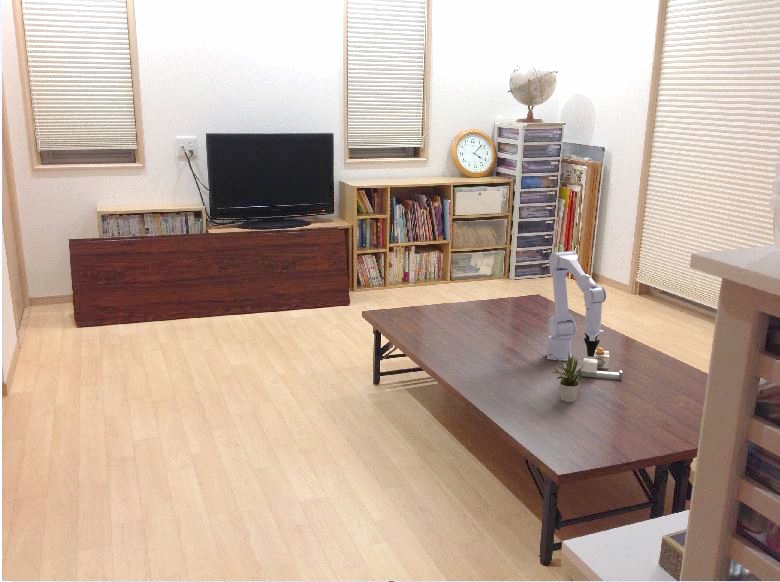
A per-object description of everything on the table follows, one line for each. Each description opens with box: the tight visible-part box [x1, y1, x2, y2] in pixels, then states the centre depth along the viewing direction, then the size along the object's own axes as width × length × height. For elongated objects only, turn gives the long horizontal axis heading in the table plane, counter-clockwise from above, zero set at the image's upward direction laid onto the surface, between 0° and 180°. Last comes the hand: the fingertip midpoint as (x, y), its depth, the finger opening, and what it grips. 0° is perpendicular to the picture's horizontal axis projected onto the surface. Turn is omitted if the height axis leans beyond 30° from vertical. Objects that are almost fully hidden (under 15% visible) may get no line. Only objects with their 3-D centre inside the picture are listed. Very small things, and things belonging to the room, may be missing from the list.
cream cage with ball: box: [589, 349, 610, 369], centre depth 282 cm, size 7×7×5 cm
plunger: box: [596, 346, 604, 354], centre depth 282 cm, size 2×2×2 cm
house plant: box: [551, 352, 586, 403], centre depth 250 cm, size 14×14×16 cm
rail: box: [577, 365, 623, 381], centre depth 271 cm, size 16×3×3 cm, turn 75°
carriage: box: [582, 357, 598, 378], centre depth 271 cm, size 5×4×6 cm
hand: (590, 352), depth 270 cm, fingers open, 7 cm apart
